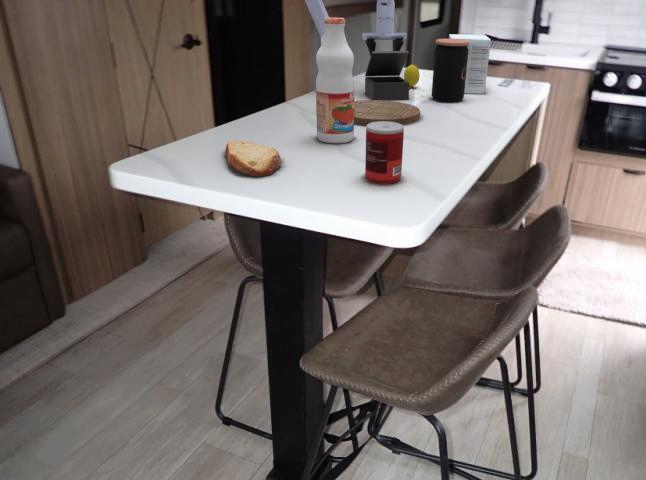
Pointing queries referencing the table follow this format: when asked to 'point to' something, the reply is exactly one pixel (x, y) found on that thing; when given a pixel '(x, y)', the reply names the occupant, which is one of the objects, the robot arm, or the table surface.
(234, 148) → the bread slice
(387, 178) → the canned food
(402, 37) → the robot arm
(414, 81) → the lemon
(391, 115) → the trivet
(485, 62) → the supplement box
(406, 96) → the dark grey square box
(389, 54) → the dark grey box lid
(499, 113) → the table surface
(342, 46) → the fruit juice
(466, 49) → the coffee jar
